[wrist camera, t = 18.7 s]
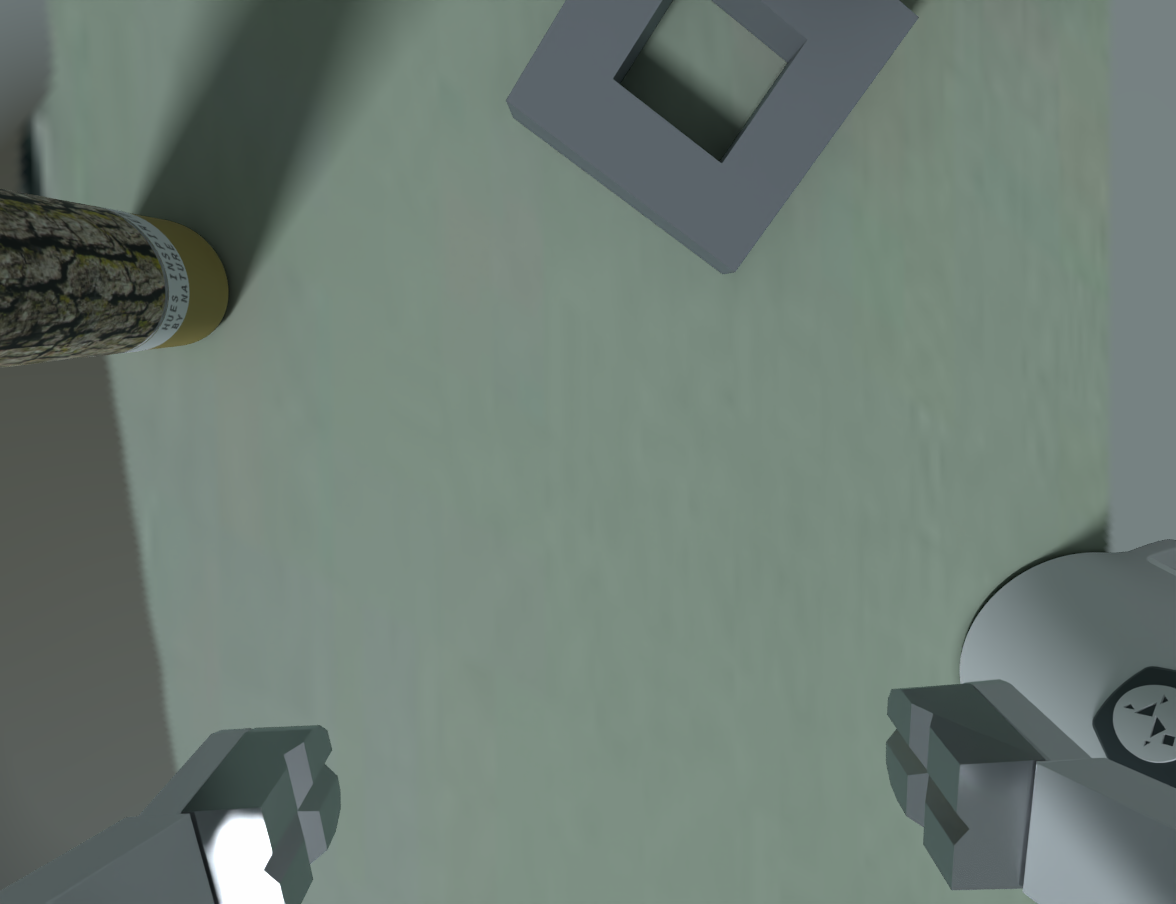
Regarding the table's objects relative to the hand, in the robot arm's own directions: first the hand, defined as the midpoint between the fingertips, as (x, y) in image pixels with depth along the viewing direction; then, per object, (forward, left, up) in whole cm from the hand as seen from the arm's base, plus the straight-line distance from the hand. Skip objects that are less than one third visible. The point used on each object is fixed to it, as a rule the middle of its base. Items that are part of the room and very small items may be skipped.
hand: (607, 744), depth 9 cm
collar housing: (+5, -17, -29) cm, 34 cm away
